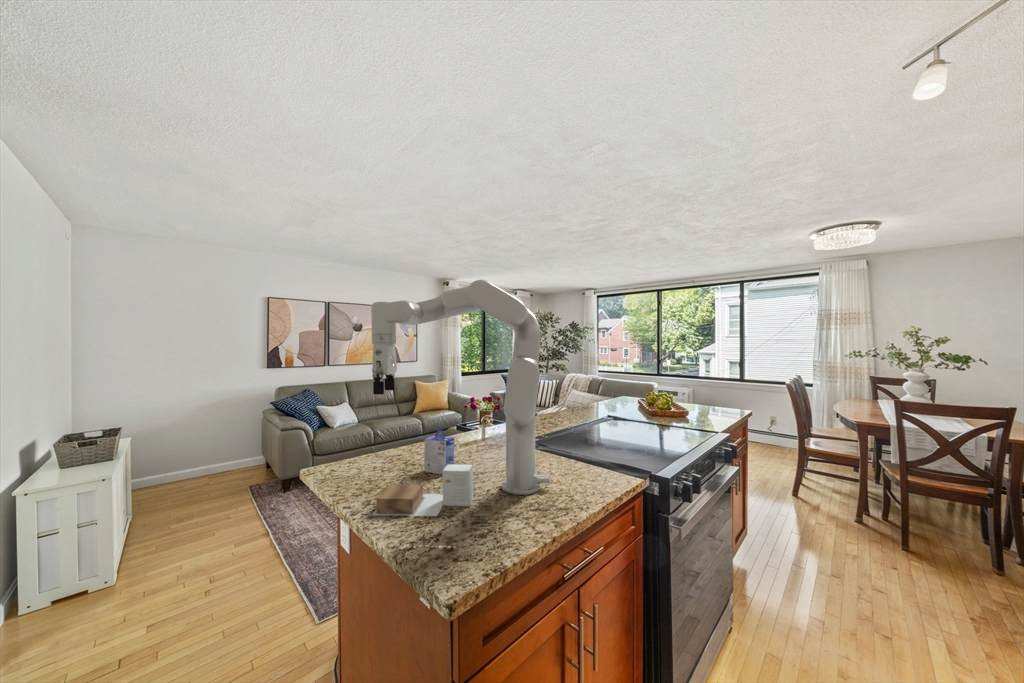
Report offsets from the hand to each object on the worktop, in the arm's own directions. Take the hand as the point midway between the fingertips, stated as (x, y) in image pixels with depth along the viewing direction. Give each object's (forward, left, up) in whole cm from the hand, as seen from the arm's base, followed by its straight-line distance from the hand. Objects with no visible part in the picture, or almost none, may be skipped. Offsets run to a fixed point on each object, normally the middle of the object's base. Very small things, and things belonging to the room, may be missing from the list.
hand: (384, 392), depth 122 cm
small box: (-27, +12, -31) cm, 43 cm away
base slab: (-11, +15, -30) cm, 35 cm away
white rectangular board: (-14, +14, -31) cm, 36 cm away
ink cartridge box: (-15, -14, -31) cm, 37 cm away
